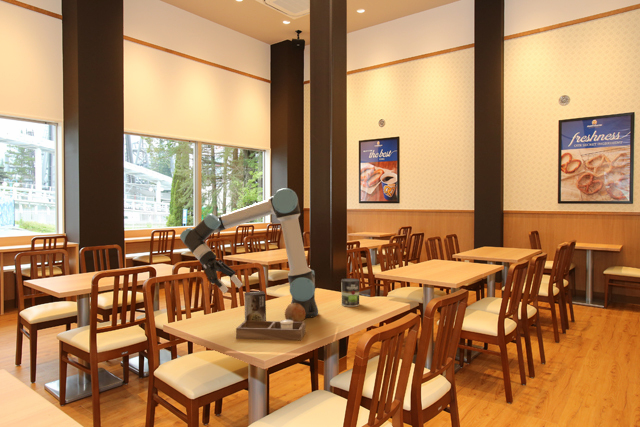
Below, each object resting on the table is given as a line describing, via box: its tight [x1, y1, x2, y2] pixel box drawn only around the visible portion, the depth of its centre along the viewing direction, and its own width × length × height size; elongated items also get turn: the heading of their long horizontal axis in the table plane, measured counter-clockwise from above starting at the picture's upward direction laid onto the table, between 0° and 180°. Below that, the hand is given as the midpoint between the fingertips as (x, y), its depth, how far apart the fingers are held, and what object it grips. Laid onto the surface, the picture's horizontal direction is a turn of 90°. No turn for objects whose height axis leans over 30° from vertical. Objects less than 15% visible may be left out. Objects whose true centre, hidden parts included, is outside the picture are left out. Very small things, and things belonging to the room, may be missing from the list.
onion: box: [284, 303, 306, 322], centre depth 193 cm, size 10×10×10 cm
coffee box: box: [243, 290, 267, 321], centre depth 187 cm, size 9×6×16 cm
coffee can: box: [340, 278, 360, 308], centre depth 231 cm, size 10×10×14 cm
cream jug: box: [280, 319, 293, 329], centre depth 173 cm, size 6×6×6 cm
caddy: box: [235, 320, 306, 342], centre depth 173 cm, size 12×27×5 cm, turn 83°
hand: (233, 288), depth 190 cm, fingers open, 13 cm apart
